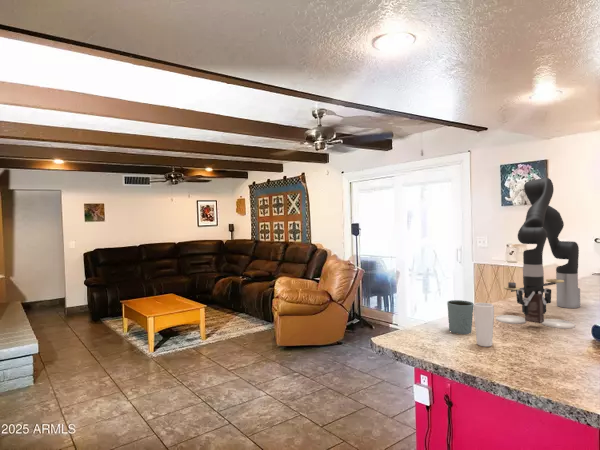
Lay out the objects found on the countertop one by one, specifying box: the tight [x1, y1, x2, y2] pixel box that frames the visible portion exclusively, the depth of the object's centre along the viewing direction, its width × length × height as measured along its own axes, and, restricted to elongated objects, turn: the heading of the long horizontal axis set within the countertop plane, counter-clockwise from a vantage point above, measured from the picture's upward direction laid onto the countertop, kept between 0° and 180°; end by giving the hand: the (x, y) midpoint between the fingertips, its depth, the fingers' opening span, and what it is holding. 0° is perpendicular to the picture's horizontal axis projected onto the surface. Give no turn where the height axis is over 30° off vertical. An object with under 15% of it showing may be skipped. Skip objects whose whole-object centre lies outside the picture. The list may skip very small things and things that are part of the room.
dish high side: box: [541, 318, 576, 329], centre depth 170 cm, size 12×12×1 cm
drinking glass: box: [473, 302, 495, 348], centre depth 146 cm, size 7×7×15 cm
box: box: [523, 293, 545, 324], centre depth 168 cm, size 6×4×12 cm
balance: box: [503, 278, 564, 317], centre depth 187 cm, size 24×7×17 cm, turn 60°
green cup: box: [446, 299, 475, 335], centre depth 164 cm, size 10×10×12 cm
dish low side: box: [495, 314, 527, 325], centre depth 179 cm, size 12×12×1 cm
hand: (534, 313), depth 168 cm, fingers closed on box, 6 cm apart
